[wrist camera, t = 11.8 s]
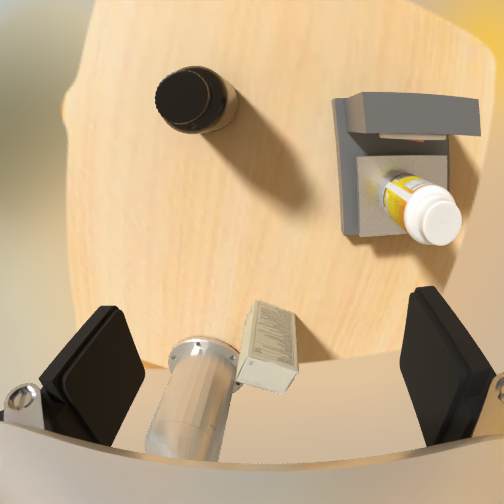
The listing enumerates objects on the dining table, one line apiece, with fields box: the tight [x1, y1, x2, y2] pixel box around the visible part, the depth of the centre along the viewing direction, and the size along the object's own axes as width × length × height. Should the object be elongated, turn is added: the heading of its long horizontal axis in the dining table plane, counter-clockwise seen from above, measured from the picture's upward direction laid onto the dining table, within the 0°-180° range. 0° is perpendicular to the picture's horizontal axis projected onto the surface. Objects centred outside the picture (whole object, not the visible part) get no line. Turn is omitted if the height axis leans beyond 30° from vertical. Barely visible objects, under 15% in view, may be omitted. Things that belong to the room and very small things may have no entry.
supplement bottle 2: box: [382, 173, 462, 246], centre depth 28 cm, size 6×6×10 cm
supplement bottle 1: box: [155, 66, 238, 134], centre depth 30 cm, size 7×7×12 cm
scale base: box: [332, 92, 481, 236], centre depth 30 cm, size 16×14×11 cm
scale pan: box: [355, 155, 447, 237], centre depth 34 cm, size 9×11×2 cm
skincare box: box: [236, 300, 299, 395], centre depth 39 cm, size 6×4×12 cm
